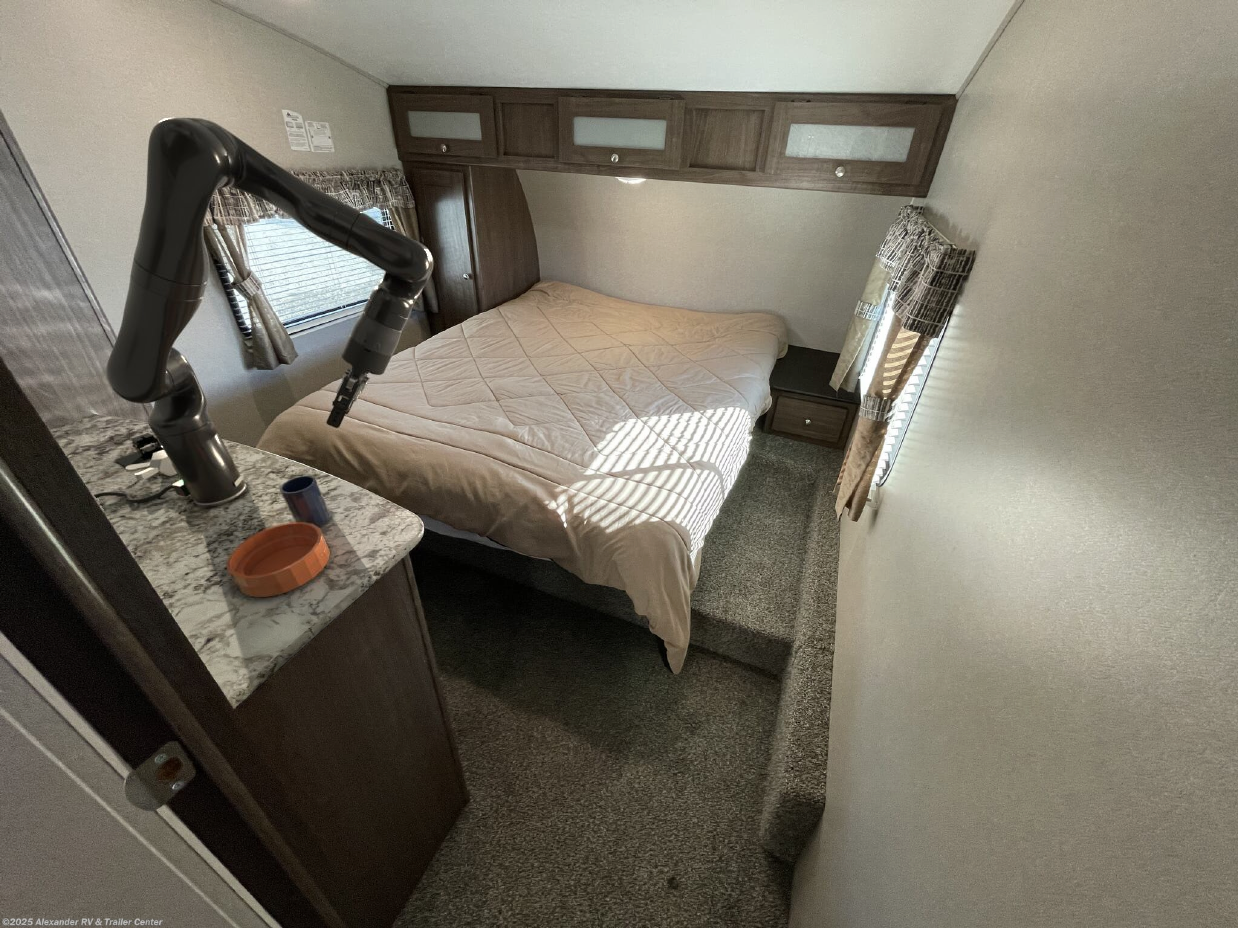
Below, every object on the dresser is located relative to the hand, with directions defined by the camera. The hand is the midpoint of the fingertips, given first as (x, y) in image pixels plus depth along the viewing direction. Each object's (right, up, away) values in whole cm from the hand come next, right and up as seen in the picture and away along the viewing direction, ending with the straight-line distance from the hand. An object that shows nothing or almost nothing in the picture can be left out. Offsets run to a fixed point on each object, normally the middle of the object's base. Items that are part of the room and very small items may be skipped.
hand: (337, 418), depth 92 cm
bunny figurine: (-52, -10, +24) cm, 58 cm away
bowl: (-6, -27, -5) cm, 29 cm away
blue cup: (-8, -20, +6) cm, 23 cm away
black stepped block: (-65, -6, +31) cm, 72 cm away
